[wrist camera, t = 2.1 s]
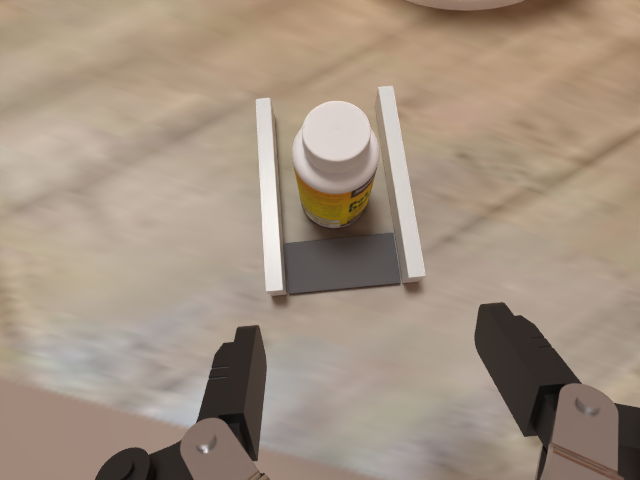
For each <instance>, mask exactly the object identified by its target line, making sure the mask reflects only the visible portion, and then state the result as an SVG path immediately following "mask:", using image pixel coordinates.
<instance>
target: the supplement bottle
mask: <svg viewBox="0 0 640 480" xmlns="http://www.w3.org/2000/svg"><path fill="white" fill-rule="evenodd" d="M292 159H293V164H294V169H295V174H296V179H297V184H298V189H299V194H300V199H301V203H302V207H303V209H304V211H305V213H306V214H307V215H308V217H309V218H310V219H311V220H313V221H314V222H315V223H317V224H319V225H321V226H324V227H329V228H340V227H344V226H347V225H350V224H351V223H353V222H355V221H356V220H357V219H358V218H359V217H360V216H361V215H362V213H363V212H364V210H365V208H366V206H367V203H368V199H369V196H370V192H371V188H372V184H373V180H374V177H375V173H376V170H377V166H378V161H379V145H378V141H377V138H376V136H375V134H374V132H373V131H372V130H371V127H370V123H369V120H368V118H367V117H366V115H365V114H364V113H363V112H362V110H360V109H359V108H358V107H356V106H355V105H353V104H350V103H347V102H343V101H331V102H326V103H323V104H321V105H319V106H317V107H316V108H314V109H313V110H312V111H311V112H310V113H309V114H308V115H307V117H306V119H305V120H304V123H303V127H302V128H301V129H300V131H299V132H298V134H297V135H296V137H295V140H294V143H293V148H292Z"/></svg>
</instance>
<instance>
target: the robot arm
mask: <svg viewBox="0 0 640 480" xmlns="http://www.w3.org/2000/svg"><path fill="white" fill-rule="evenodd" d="M475 346H476V349H477V352H478V354H479V356H480V358H481V359H482V361H483V363H484V365H485V367H486V368H487V370H488V372H489V374H490V376H491V377H492V379H493V381H494V383H495V385H496V386H497V388H498V390H499V392H500V394H501V395H502V397H503V399H504V401H505V403H506V405H507V406H508V408H509V410H510V412H511V414H512V415H513V417H514V419H515V421H516V423H517V424H518V426H519V428H520V430H521V432H522V433H523V435H524V437H527V436H537V435H538V437H539V438H540V440H541V442H542V446H541V449H540V454H539V459H538V465H537V470H536V475H535V480H640V408H638V407H632V406H627V405H621V404H616V403H613V402H612V400H611V399H610V398H609V397H608V396H606V395H605V394H604V393H602V392H601V391H599V390H597V389H595V388H593V387H591V386H588V385H584V384H582V383H581V382H580V381H579V379H578V378H577V377H576V376H575V374H574V373H573V372H572V371H571V369H570V368H569V367H568V366H567V364H566V363H565V362H564V361H563V359H562V358H561V357H560V356H559V354H558V353H557V352H556V351H555V349H554V348H552V347H551V344H550V343H549V342H548V341H547V339H546V338H545V339H544V336H543V334H542V333H541V332H540V331H539V329H538V328H537V327H536V326H535V325H534V324H533V323H531V322H530V321H528V320H527V319H526V318H524V317H523V316H521V315H518V316H514V315H513V313H512V312H511V311H510V309H509V308H508V307H507V305H506V304H505V303H503V302H500V303H490V304H481V305H480V307H479V311H478V317H477V323H476V330H475ZM266 371H267V364H266V355H265V350H264V345H263V341H262V336H261V332H260V328H259V325H253V326H243V327H238V328H237V330H236V335H235V339H234V342H229V343H223V345H222V346H221V347H220V349H219V350H218V351H217V352H216V354H215V356H214V360H213V364H212V370H211V371H210V375H209V380H208V382H207V386H206V390H205V394H204V397H203V401H202V405H201V408H200V412H199V416H198V419H197V422H196V424H194V425H193V426H192V427H191V428H190V429H189V430H188V431H187V432H186V433H185V435H184V437H183V439H182V440H181V441H179V442H177V443H176V444H174V445H172V446H170V447H167V448H164V449H162V450H159V451H157V452H155V453H152V454H149V455H148V453H147V452H146V451H145V450H143V449H141V448H136V447H135V448H128V449H125V450H122V451H120V452H118V453H117V454H115V455H114V456H112V457H111V458H110V459H109V460H108V461H107V462H106V463H105V464H104V465H103V466H102V467H101V469H100V471H99V472H98V474H97V476H96V479H95V480H270V479H269V477H268V476H267V475H266V474H265V473H263V474H262V473H260V471H259V470H258V469H257V467H256V466H255V464H254V463H253V461H257V460H258V450H259V441H260V431H261V421H262V411H263V401H264V391H265V382H266Z"/></svg>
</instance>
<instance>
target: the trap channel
mask: <svg viewBox="0 0 640 480" xmlns="http://www.w3.org/2000/svg"><path fill="white" fill-rule="evenodd" d="M375 110H376V116H377V123H378V129H379V135H380V142H381V148H382V155H383V161H384V168H385V174H386V181H387V187H388V194H389V200H390V206H391V213H392V219H393V226H394V232H395V239H396V245H397V252H398V258H399V265H400V271H401V278H402V283H410V282H418V281H419V280H421V279H422V278H424V277H425V276H426V275H425V269H424V263H423V257H422V252H421V246H420V240H419V234H418V229H417V223H416V217H415V211H414V205H413V200H412V194H411V188H410V182H409V177H408V171H407V165H406V159H405V153H404V148H403V142H402V136H401V130H400V125H399V119H398V113H397V107H396V102H395V96H394V90H393V86H384V87H378V92H377V97H376V103H375ZM256 114H257V133H258V152H259V171H260V189H261V208H262V227H263V246H264V264H265V283H266V292H267V293H268V294H270V295H271V296H276V295H286V294H287V290H286V276H285V261H284V246H283V232H282V217H281V203H280V188H279V174H278V159H277V144H276V130H275V116H274V111H273V107H272V103H271V99H270V98H263V99H256ZM285 247H286V261H287V275H288V289H289V294H297V293H307V292H317V291H327V290H338V289H348V288H358V287H369V286H379V285H389V284H399V283H401V281H400V275H399V268H398V262H397V255H396V249H395V242H394V236H393V233H386V234H376V235H365V236H355V237H345V238H335V239H324V240H314V241H304V242H294V243H285Z"/></svg>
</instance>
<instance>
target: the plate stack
mask: <svg viewBox="0 0 640 480" xmlns="http://www.w3.org/2000/svg"><path fill="white" fill-rule="evenodd" d="M406 1H409V2H412V3H415V4H419V5H423V6H427V7H433V8H439V9H447V10H485V9H493V8H499V7H504V6H508V5H512V4H516V3H519V2H522V1H525V0H406Z"/></svg>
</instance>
